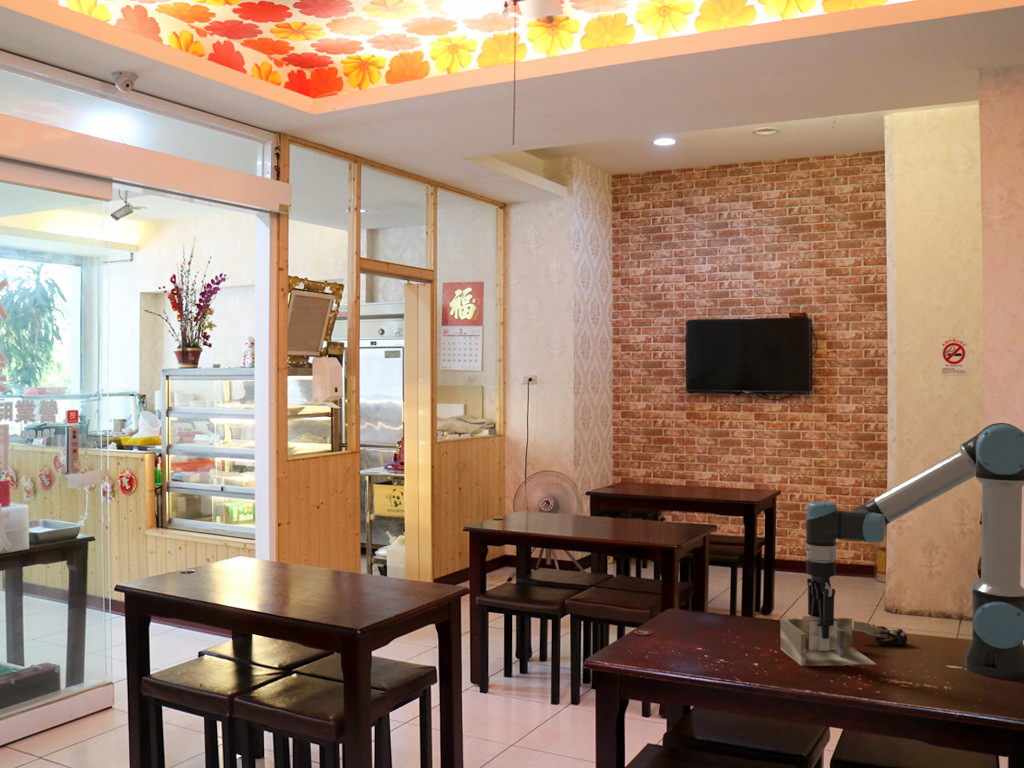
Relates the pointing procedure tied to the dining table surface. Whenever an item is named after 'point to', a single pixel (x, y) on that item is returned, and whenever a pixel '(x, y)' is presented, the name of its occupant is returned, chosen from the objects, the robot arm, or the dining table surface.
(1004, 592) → the robot arm
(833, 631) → the tall mauve wooden block
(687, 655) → the dining table surface
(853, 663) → the shelf
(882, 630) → the toy figure
